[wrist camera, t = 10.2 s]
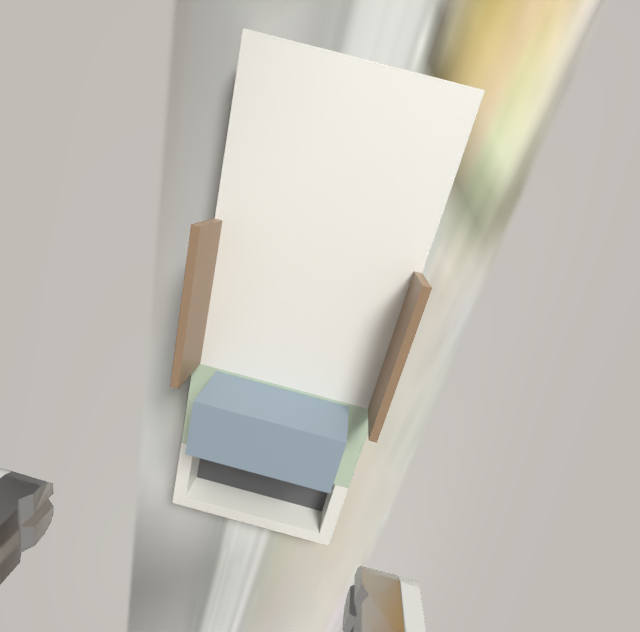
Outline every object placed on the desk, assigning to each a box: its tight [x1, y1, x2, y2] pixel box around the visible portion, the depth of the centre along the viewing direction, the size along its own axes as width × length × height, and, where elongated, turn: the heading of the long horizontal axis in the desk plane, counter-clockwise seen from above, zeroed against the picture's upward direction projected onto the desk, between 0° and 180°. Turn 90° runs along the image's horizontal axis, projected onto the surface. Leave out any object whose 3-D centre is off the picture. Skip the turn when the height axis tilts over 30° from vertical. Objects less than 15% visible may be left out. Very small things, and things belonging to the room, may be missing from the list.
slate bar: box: [185, 371, 349, 493], centre depth 26 cm, size 4×10×4 cm, turn 76°
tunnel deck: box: [170, 28, 485, 546], centre depth 26 cm, size 33×13×6 cm, turn 166°
